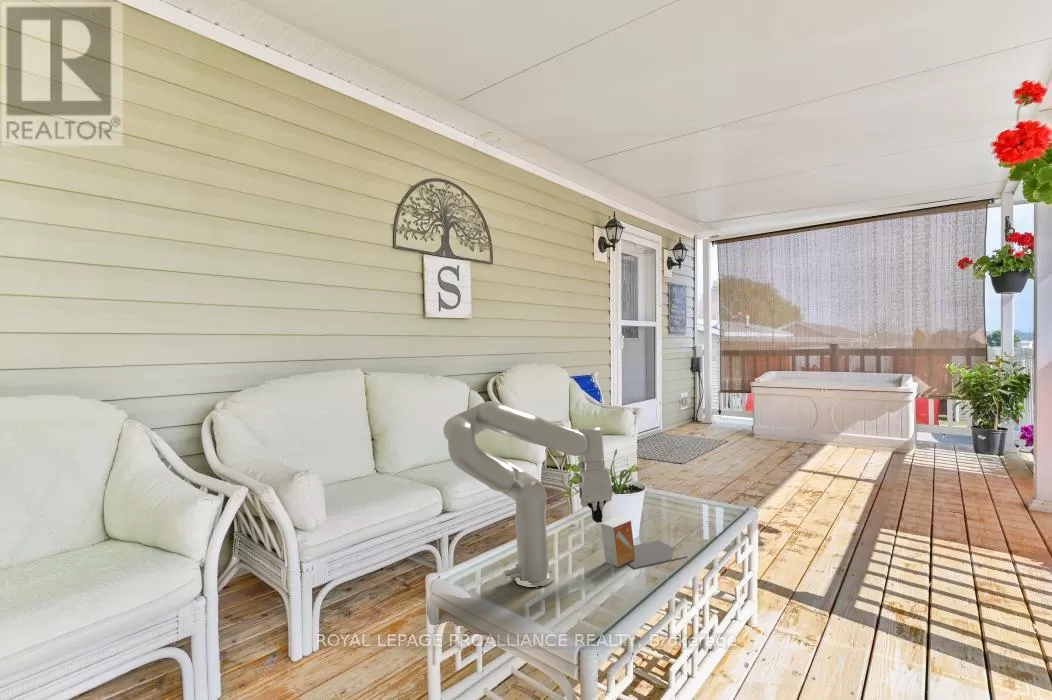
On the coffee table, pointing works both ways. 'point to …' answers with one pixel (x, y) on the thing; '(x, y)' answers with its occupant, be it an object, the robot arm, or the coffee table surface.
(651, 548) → the mat
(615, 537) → the small box
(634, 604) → the coffee table surface
